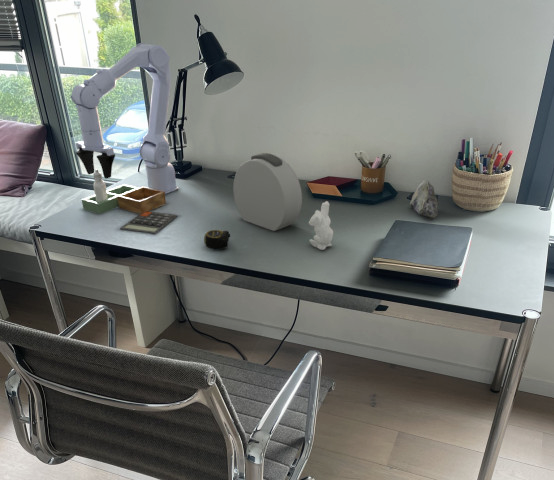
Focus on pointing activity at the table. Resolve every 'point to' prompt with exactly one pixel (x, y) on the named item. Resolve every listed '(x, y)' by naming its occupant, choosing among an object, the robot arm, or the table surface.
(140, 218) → the calculator
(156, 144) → the robot arm
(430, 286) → the table surface
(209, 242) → the tape measure
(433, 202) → the mineral rock
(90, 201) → the green divided tray
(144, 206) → the open wooden box
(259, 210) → the alarm clock
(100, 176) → the eye dropper bottle
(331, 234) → the white bunny figurine
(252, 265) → the table surface
